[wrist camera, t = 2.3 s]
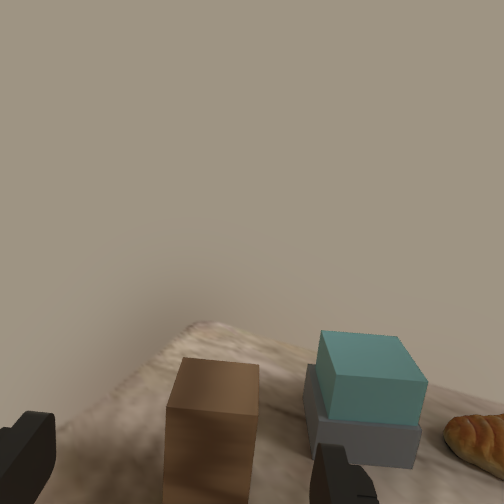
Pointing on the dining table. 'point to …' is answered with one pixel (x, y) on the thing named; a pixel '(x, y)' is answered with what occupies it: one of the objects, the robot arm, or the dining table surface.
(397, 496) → the dining table surface
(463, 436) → the pastry
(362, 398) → the tower top slab
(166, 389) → the dining table surface
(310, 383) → the tower base slab
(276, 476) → the dining table surface
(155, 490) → the dining table surface
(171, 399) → the walnut pillar
